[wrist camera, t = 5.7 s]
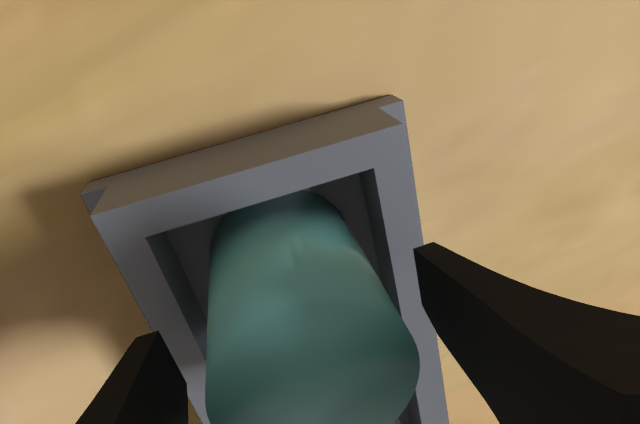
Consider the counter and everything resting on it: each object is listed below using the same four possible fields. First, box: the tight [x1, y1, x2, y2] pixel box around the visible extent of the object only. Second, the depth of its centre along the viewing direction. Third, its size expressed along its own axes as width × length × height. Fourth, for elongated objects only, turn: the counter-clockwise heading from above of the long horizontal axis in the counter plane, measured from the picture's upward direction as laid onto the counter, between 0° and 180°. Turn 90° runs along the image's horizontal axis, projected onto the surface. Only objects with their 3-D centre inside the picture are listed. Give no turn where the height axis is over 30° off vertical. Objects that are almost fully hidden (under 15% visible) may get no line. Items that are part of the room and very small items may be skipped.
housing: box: [80, 95, 449, 424], centre depth 15 cm, size 16×10×6 cm, turn 13°
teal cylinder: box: [205, 190, 420, 424], centre depth 12 cm, size 5×5×6 cm
